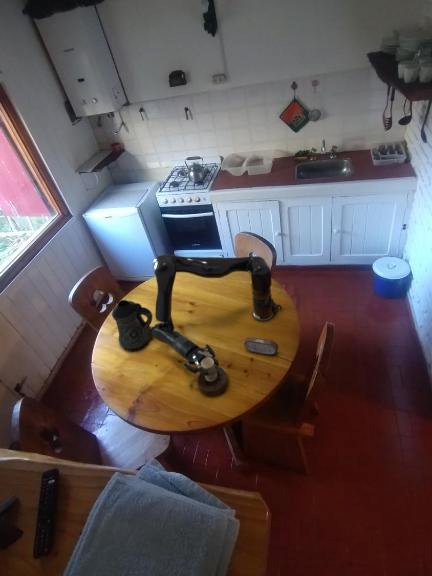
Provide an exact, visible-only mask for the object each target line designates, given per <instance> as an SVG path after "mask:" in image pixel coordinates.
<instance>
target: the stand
mask: <svg viewBox="0 0 432 576" xmlns="http://www.w3.org/2000/svg"><path fill="white" fill-rule="evenodd" d="M215 368H216V371H217V378H216V379H215V380H214V381H207V380H206V379H205V376H204V375H203V374H202V373H201V372H199V374H198V376H197V385H198V387H199V389H200V391H201V392H202V394H203V395H205V396H207V397H217V396H220V395H222V394H223V393H224V392H225V391H226V389H228V386H229V385H228V383H229V382H228V375H227V374H228V373H226V371H225V369H224V368H222V367H220V366H219V365H218V366H216V365H215Z"/></svg>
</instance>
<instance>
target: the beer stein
mask: <svg viewBox="0 0 432 576" xmlns="http://www.w3.org/2000/svg"><path fill="white" fill-rule="evenodd" d="M111 316H112V317H111V318H113V320H114V321H115V323H116V327H117V332H118V342H119V344H120V346H121V347H122V348H123V349H124V350H125V351H128V352H139V351H141V350H143V349H145V348H146V347H147V346H148V345H149V344H150V343H151V341H152V338H153V336H152V334H151V328H152V326H151V324H152V321H153V313H152V311H151V310H150V309H149V308H147V307H143V306H142V305H141V303H139V302H134V301H132V300H126V299H122V300H120V301H119V302H117V304H116V305H115V306H114V307H113V309H112V312H111ZM143 316H145V317H146V318H147V319H146V321H145V319H144V318H143Z"/></svg>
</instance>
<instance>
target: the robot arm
mask: <svg viewBox="0 0 432 576" xmlns="http://www.w3.org/2000/svg"><path fill="white" fill-rule="evenodd" d="M152 268H153V273H154V276H155V280H156V287H157V294H156V300H155V312H154V313H155V315H154V316H155V319H156V321H157V323H155V324H154V325H152V326H151V334H152V338H153V339H155V340H156V341H158V342H160V343H162V344H165V345H168V346H169V347H170V348H172V349H173V350H174V351H175V352H176V354H178V356H181V357H182V358H183V359H184V360H186V361H187V362H184V363H183V367H184V370H186V371H188V372H191V373H192V374H194V375H196V374H198V373H202V374H203V375H206V376H208V372H207V371H206V370H205V369H203V368H202V366H201V362H202V360H203V359H204V358H207V357H210V358H212V359H213V360H214V364H215V366H218V367H219V365H220V363H219V362H220V361H219V360H218V359H217V358H216V352H215V351H214V349H213V348H211V346H210V345H209V344H208V343H206V345H205V346H204V347H200V346H199V345H198V344H196V343H195V342H194V341H192V340H191V339H190V338H188V337H186V336H185V335H183V334H182V333H181V332H180V331H178V330H175V324H174V320H173V316H172V310H173V309H172V308H173V290H174V285H175V280H176V276H177V273H184V274H185V273H186V274H190V275H193V276H196V277H199V278H204V279H222V278H225V277H227V276H229V275H231V274H233V273H239V272H240V273H241V272H243V273H244V272H245V273H248V274H249V276H250V281H251V283H250V292H251V293H250V294H251V300H252V301H251V302H252V308H253V317H254V318H255V319H256V321H260V322H266V321H269V320H271V319H272V318H273V316H274V315H275V312H277V311H279V310H280V311H282V309H283V307H282V305H281V304H277V303H276V302H275V301H274V298H272V289H271V288H272V283H273V281H272V271H271V268H270V266H269V264H268V262H267V261H266V259H265V258H263V257H262V256H258V255H253V256H242V257H241V256H240V257H219V256H181V255H173V254H160V255H158V256H156V257H155V258H154V259H153V262H152ZM193 365H195V367H194V366H193Z"/></svg>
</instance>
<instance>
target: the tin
mask: <svg viewBox="0 0 432 576" xmlns="http://www.w3.org/2000/svg"><path fill="white" fill-rule="evenodd" d="M243 345H244V348H245V349H246V350H247V351H249V352H252V353H256V354H261V355H268V356H272V355H276V354H277V352H278V349H279V344H278V343H277V342H276V341H274V340H273V339H268V338H264V337H263V338H262V337H257V336H247V337H246V338H245V339H244V343H243Z"/></svg>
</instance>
